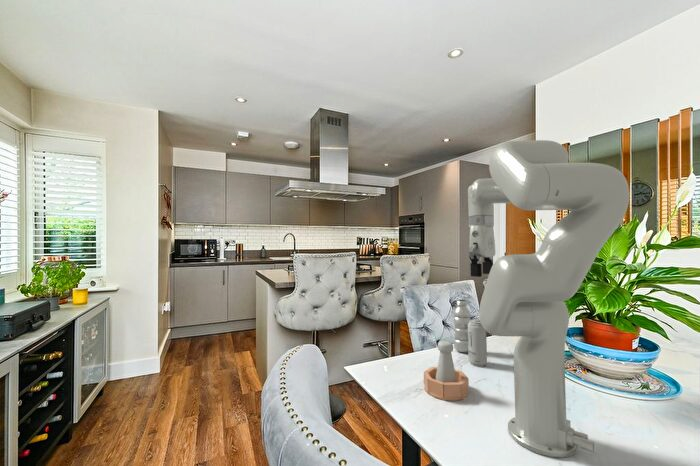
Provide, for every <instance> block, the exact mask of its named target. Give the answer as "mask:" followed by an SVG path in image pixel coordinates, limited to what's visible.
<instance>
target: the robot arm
mask: <svg viewBox="0 0 700 466" xmlns="http://www.w3.org/2000/svg"><path fill="white" fill-rule="evenodd" d="M569 157H570V155H569V152H568V149H566V147H565V146H564V145H563V144H561V143H560V142H557V141H555V140H554V141H553V140H548V139H547V140H546V139H545V140H543V139H542V140H541V139H537V140H535V139H534V140H509V141H505V142H502V143H500V144H499V145H498V146H497V147H496V148H494V150H493V152H492V153H491V156H490V158H489V163H488V164H489V165H488V169H489V174H490V176H491V177H490V178H489V177H488V178H487V177H486V178H477V179H475V181H474V182H473V183H472V184H471V185H469V186H468V188H467V205H468V208H467V209H468V214H467V215H468V227H469V249H468V255H469V256H468V257H469V264H470V277H476V278H477V277H478V278H481V277H482V275H488V276H487V280H486V283H485V287H484V290H483V293H482V296H481V300H480V303H479V307H478V308H479V311H478V314H479V315H478V316H479V320H480V322H481V325H482V327H483V328H484V329H485V330H486V333H488V334H490V335H493V336H497V337H519V339H518V341H517V342H516V344H515V347H514V351H513V377H514V378H513V379H514V381H513V382H514V383H513V386H514V411H515V412H514V413H515V414H514V417H512V418H511V419H509V421H508V422H507V430H508V434H509V435H510V437H511V438H512V439H513V440H514V441H515V442H517V443H518V444H519V445H520V446H522V447H523V448H525V449H527V450H530V451H532V452H534V453H536V454H539V455H542V456H546V457H553V458H567V457H571V456H572V455H575V453H576V452H577V447H578V448H581V449H583V450H584V451H588V452H590V453H593V454H594V451H595V442H594V441H593V440H590V439H589V434H587V433H584V432H582V431H581V432H579V431H577V430H575V428H573V427H571V425H572V424H571V420H570V419H567V401H566V400H567V398H566V395H567V394H566V365H565V363H566V362H565V355H566V354H565V352H566V351H565V350H566V349H565V348H566V347H565V346H566V340H567V334H568V328H569V324H570V313H569V312H570V311H569V310H568V306H567V305H566V303H565V301H567V300H570V299H571V298H572V297H574V295H575V294H576V293H577V292H578V290H579V289H580V286H581V285H582V283H583V281H584V280H585V277H586V276H587V274H588V272H589V271H590V269H591V268H592V266H593V264H594V262H595V260H596V258H597V255H598V254H599V253H600V251H601V249H602V248H603V246H604V245H605V244H606V242H607V241H608V240H609V239H610V238H611V237H612V235H613V234H614V232H615V231H616V230H617V229H618V227H619V225H620V224H621V223H622V221H623V219H624V217H625V215H626V213H627V210H628V207H629V203H630V188H629V184H628V180H627V179H626V177H625V175H624V173H622V172H621V170H619V169H618V168H616V167H614V166H611V165H608V164H604V163H597V162H569V159H570V158H569ZM494 204H512V205H513V206H514V207H516V208H518V209H520V210H524V211H563V210H564V211H569V210H570V211H569V213H568V214H567V215H566V216H563V218H561V219H560V220H559V221H557V222H556V223H555V224H554V225H553V226H552V227H550V229H549V230H548V231H547V232H546V233H545V235H544V237H543V240H542V242H541V245H540V247H539V248H538V250H537V251H536V252H534V253H530V254H529V253H527V254H525V253H523V254H521V253H518V254H507V255H503V256H501V257H498V259H496V260H495V262H494V258H493V257H495V256H496V253H497V252H496V240H495V232H494V227H495V216H494V215H495V213H494V210H495V207H494V206H495V205H494ZM482 260H483V261H482ZM481 261H482V262H481Z"/></svg>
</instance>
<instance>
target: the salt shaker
mask: <svg viewBox="0 0 700 466" xmlns="http://www.w3.org/2000/svg"><path fill="white" fill-rule="evenodd" d="M437 350H438V351H439V357H438V362H437V366H436V367H437V373H436V380H438V381H441V382H444V383H450V382H457V380H456V375H455V369H456V368H455V366H454V360H453V355H452V352H453V351H454V344H453V343H452V342H450V341H448V340H441V341H440V340H439V342H438V343H437Z"/></svg>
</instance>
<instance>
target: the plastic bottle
mask: <svg viewBox="0 0 700 466" xmlns="http://www.w3.org/2000/svg"><path fill="white" fill-rule="evenodd" d="M467 306H468V302H467V299H456V307H455V308H454V310H453V312H452V316H453V322H454V340H453V349H455V351H457V352H460V353H468V324H469V322H470V321H469V320H471V317H472V315H471V312H470V310H469V309H468V307H467Z"/></svg>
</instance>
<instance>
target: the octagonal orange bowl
mask: <svg viewBox="0 0 700 466" xmlns="http://www.w3.org/2000/svg"><path fill="white" fill-rule="evenodd" d="M437 367H438V366H431V367H429V368H427V369H426V370H424V371H423V385H424V391H425V392H426V393H427V394H428V395H429V396H431V397H433V398H435V399H438V400H442V401H446V402H447V401H449V402H459V401H462V400H464V399H466V398H467V397H468V395H469V391H470V390H469V387H470V385H469V383H470V382H469V380H470V379H469V377H468V376H467V375H466V374H465V373H464V372H463V371H462V370H460V369H459V370H458V369H456V368H454V369H455V375H456V380H457V382H450V383H444V382H441V381H438V380H436V373H437Z"/></svg>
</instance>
